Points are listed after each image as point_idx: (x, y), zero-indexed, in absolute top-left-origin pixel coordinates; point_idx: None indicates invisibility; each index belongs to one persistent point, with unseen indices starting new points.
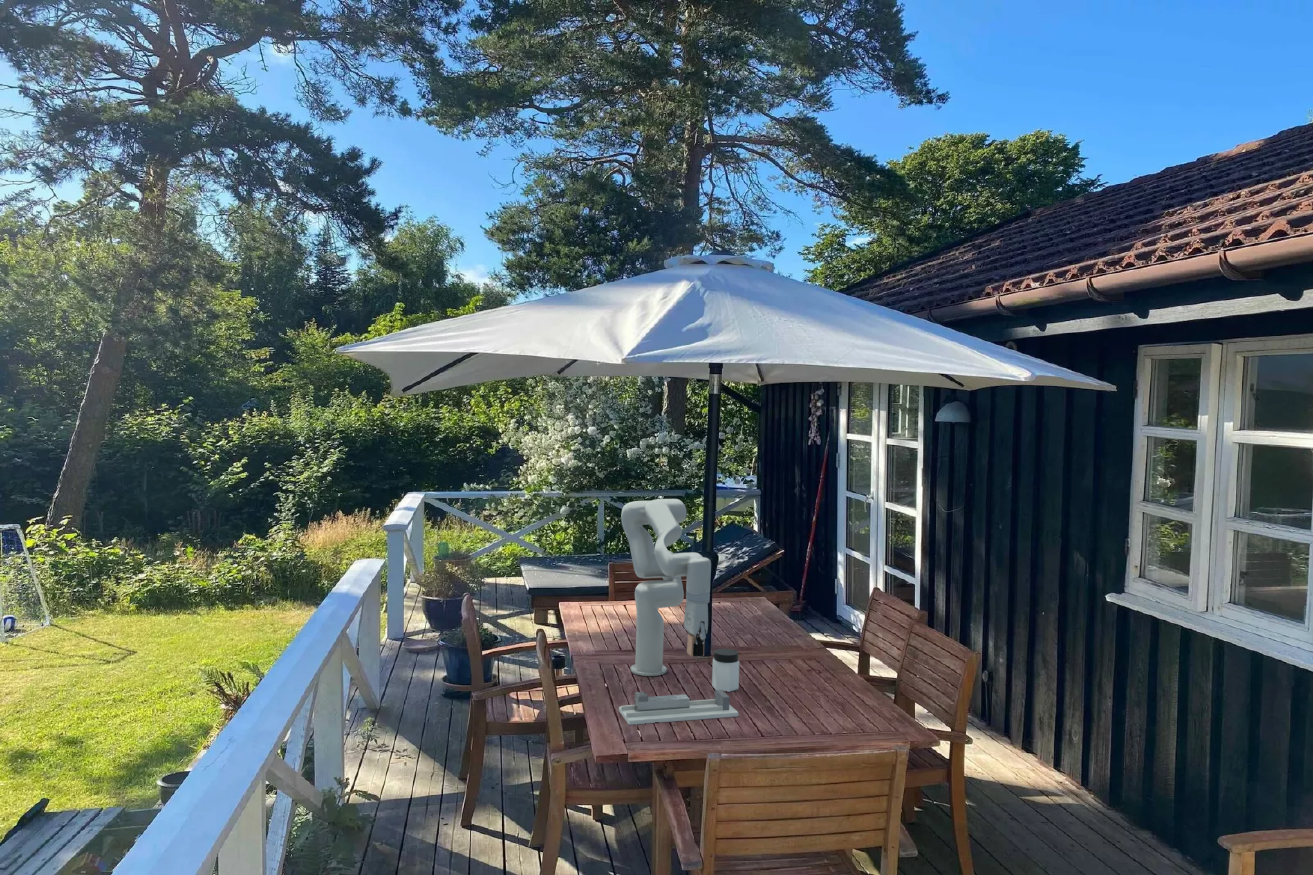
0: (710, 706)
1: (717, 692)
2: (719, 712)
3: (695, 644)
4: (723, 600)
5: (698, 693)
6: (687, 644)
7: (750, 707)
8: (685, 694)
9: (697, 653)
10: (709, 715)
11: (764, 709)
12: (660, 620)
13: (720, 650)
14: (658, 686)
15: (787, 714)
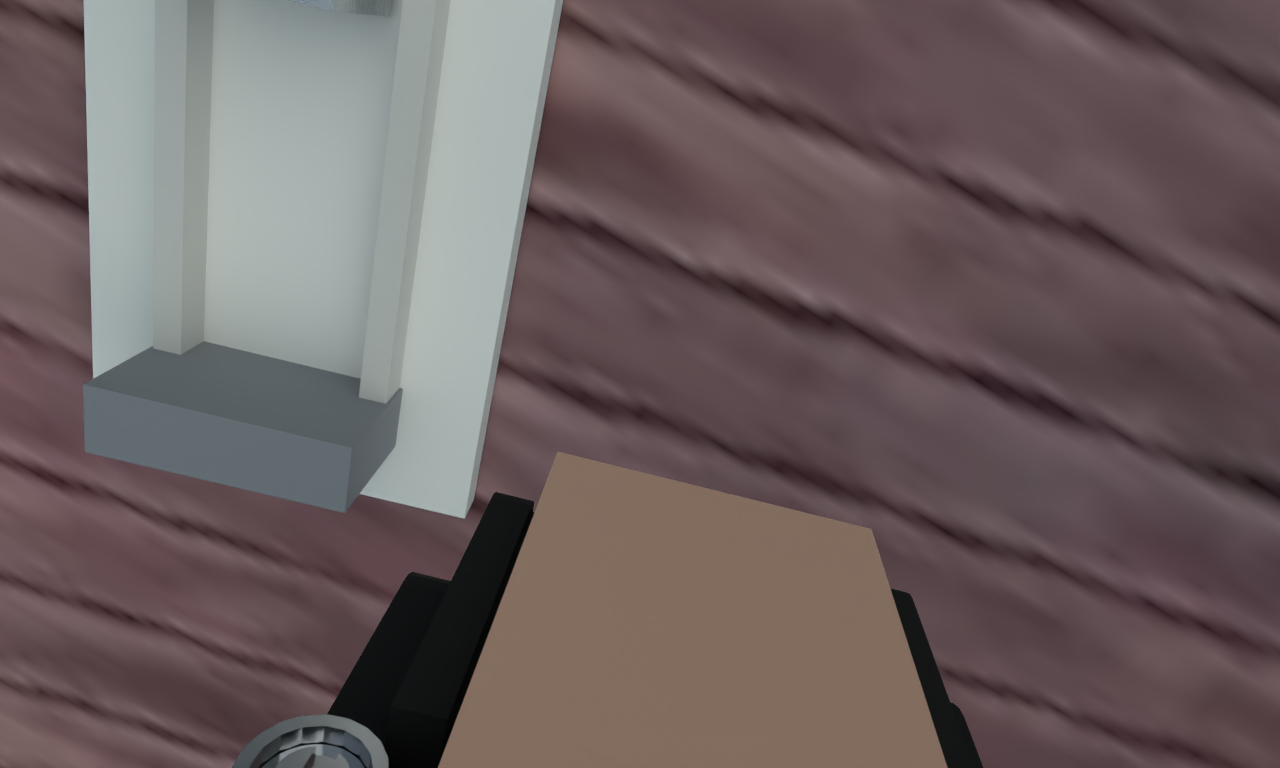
0: (179, 228)
1: (273, 426)
2: (126, 270)
3: (392, 731)
4: None
5: (815, 449)
6: (898, 668)
7: (301, 623)
8: (322, 5)
9: (409, 583)
10: (91, 135)
11: (228, 682)
12: None
13: None
14: (1268, 185)
15: (88, 749)
